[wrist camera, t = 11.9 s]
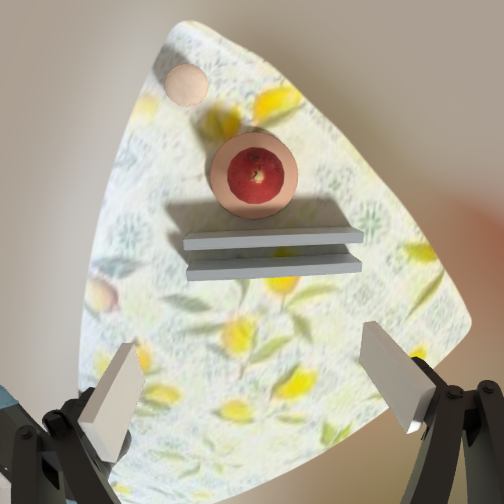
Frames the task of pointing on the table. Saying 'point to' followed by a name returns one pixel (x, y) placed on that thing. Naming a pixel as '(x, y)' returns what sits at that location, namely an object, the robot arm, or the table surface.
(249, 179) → the onion
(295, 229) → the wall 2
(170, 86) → the egg
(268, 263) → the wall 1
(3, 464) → the robot arm
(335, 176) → the table surface
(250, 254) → the table surface
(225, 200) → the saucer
